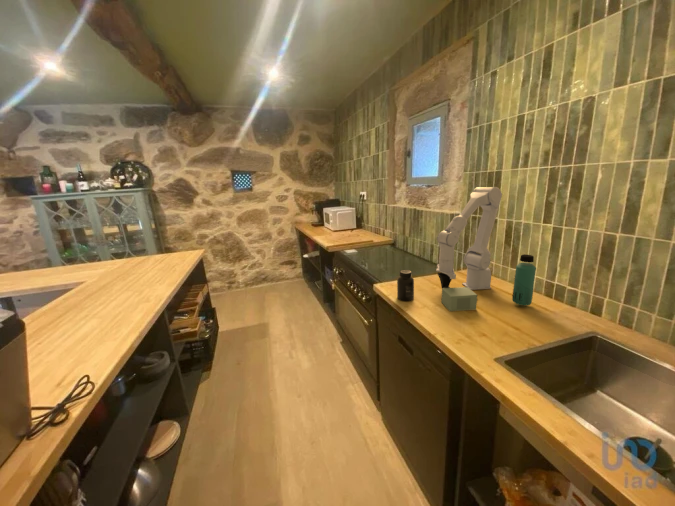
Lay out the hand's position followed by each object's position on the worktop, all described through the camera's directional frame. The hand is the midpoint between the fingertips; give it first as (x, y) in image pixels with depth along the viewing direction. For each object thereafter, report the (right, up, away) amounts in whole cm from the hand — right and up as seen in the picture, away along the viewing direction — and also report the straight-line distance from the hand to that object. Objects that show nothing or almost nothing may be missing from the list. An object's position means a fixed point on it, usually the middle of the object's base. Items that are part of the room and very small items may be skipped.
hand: (444, 289), depth 120 cm
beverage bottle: (+24, -5, -14) cm, 28 cm away
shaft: (0, -4, -8) cm, 9 cm away
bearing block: (+1, -5, -12) cm, 13 cm away
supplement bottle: (-18, -4, -3) cm, 18 cm away
